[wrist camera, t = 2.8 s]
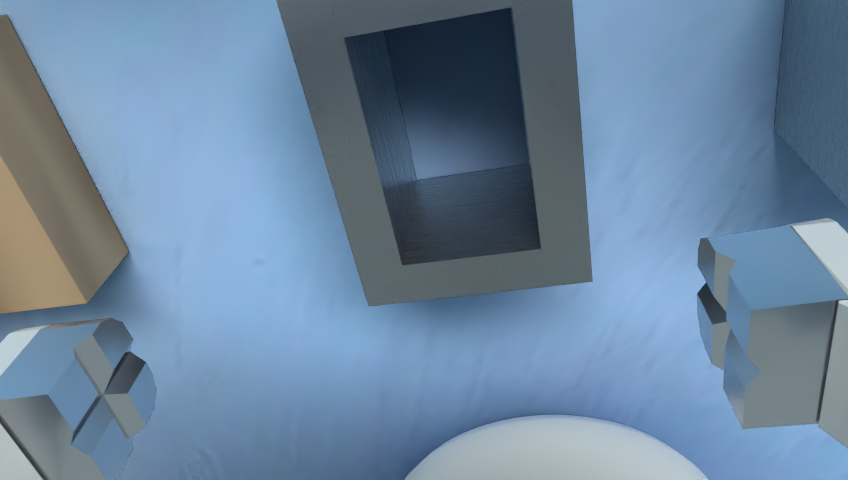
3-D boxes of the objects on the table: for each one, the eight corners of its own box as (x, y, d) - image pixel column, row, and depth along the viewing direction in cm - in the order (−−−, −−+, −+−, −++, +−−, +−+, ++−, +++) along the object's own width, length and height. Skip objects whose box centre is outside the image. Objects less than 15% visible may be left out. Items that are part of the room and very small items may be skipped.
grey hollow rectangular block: (320, -51, 15) (273, -10, 11) (546, -96, 14) (566, -67, 11) (388, 216, 18) (368, 306, 15) (571, 192, 18) (592, 281, 14)
